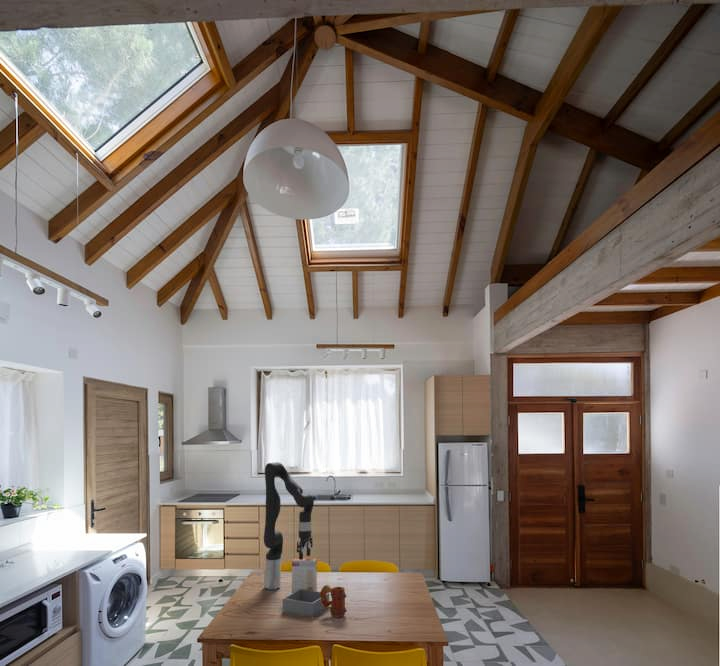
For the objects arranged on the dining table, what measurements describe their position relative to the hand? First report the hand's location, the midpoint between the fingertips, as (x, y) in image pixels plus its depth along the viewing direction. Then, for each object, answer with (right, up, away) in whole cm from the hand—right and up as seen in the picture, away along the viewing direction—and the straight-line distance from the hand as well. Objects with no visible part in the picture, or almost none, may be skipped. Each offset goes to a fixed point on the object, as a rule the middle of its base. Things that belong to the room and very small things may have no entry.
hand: (304, 557), depth 331 cm
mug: (+19, -18, -34) cm, 42 cm away
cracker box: (0, -22, -3) cm, 22 cm away
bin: (+3, -19, -24) cm, 31 cm away
